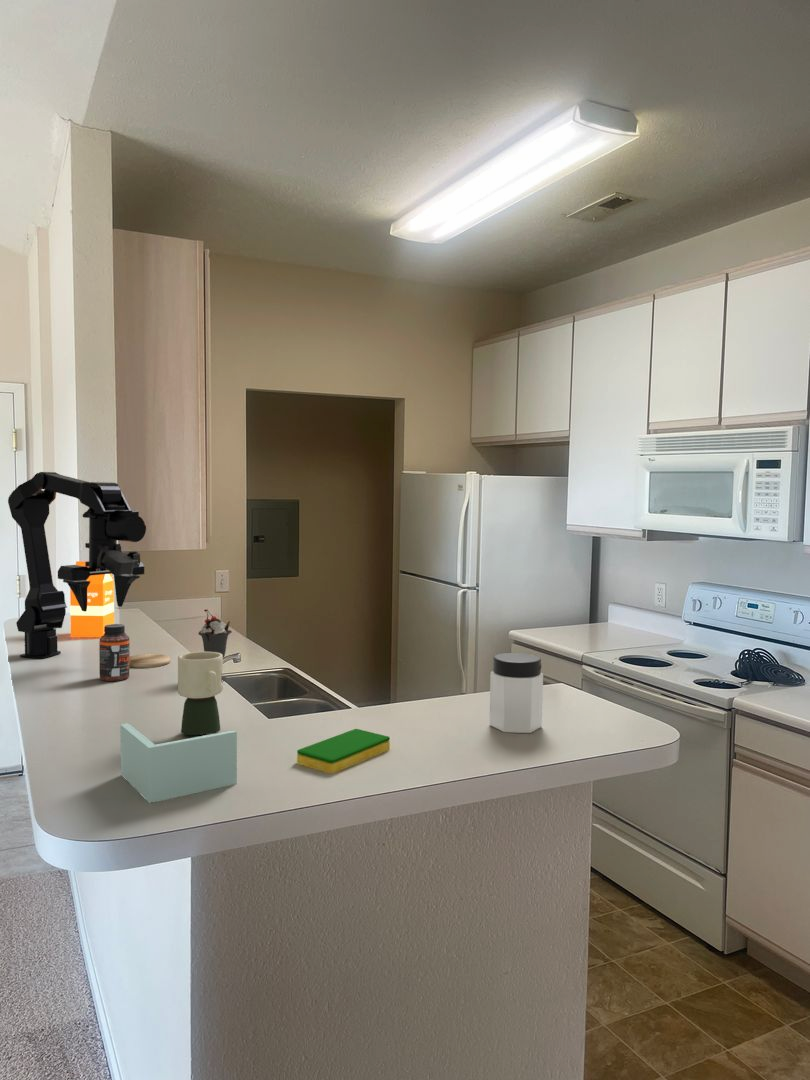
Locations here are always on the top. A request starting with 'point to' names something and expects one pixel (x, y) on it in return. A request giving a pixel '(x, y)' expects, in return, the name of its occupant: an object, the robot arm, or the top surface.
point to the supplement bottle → (114, 653)
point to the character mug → (200, 691)
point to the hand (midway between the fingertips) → (102, 608)
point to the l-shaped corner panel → (178, 763)
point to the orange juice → (93, 607)
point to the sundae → (215, 636)
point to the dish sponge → (343, 750)
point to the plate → (148, 660)
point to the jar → (516, 693)
